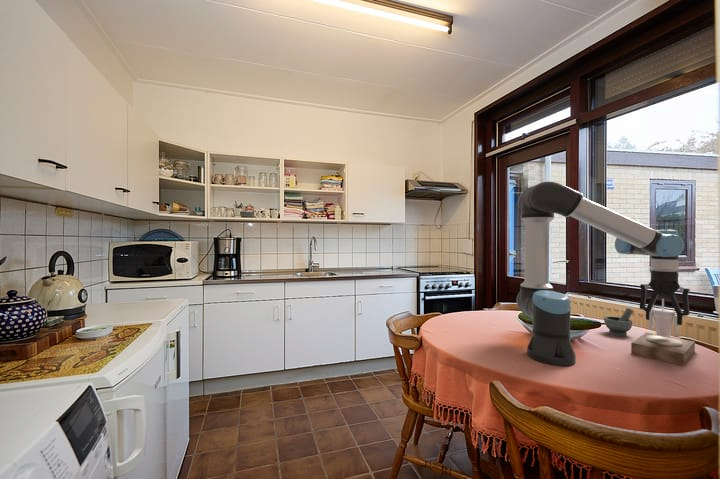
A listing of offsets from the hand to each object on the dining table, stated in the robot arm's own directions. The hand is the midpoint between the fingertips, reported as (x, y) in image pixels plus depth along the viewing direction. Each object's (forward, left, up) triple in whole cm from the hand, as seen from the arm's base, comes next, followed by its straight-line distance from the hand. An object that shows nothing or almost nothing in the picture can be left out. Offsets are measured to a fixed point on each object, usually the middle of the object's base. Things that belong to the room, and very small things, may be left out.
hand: (663, 330), depth 120 cm
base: (0, 0, -8) cm, 8 cm away
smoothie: (0, 0, -2) cm, 2 cm away
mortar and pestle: (-17, +15, -9) cm, 24 cm away
